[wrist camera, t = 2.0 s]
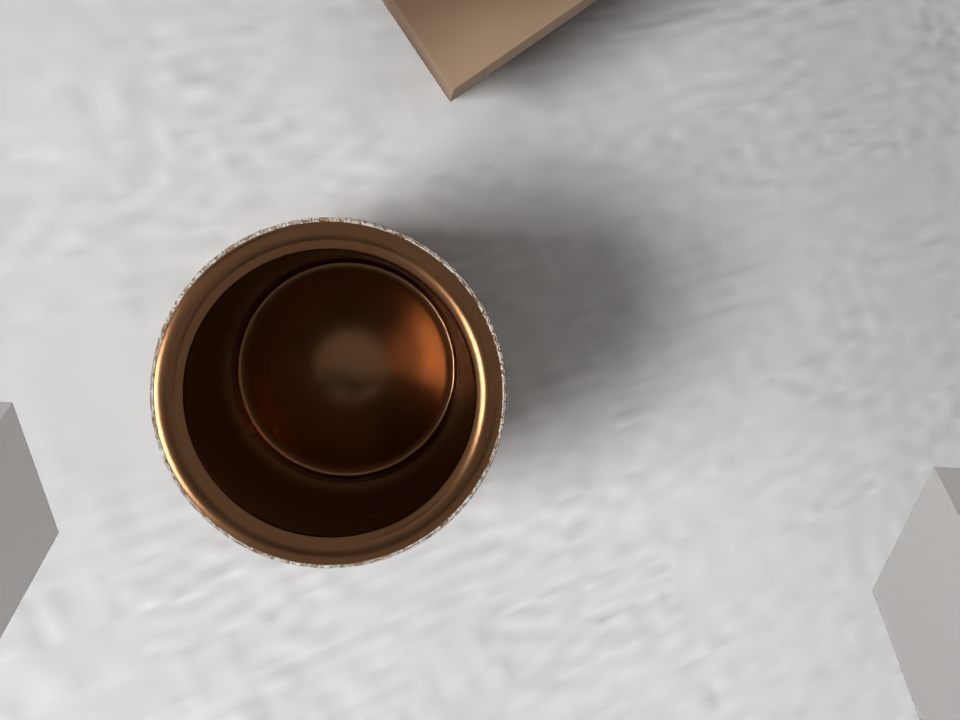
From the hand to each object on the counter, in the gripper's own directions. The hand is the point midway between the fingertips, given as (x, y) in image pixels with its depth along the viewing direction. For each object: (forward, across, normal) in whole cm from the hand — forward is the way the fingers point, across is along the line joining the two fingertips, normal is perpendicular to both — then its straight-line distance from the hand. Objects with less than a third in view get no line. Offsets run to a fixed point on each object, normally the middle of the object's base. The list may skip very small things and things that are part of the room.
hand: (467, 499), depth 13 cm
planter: (+19, -6, -13) cm, 24 cm away
